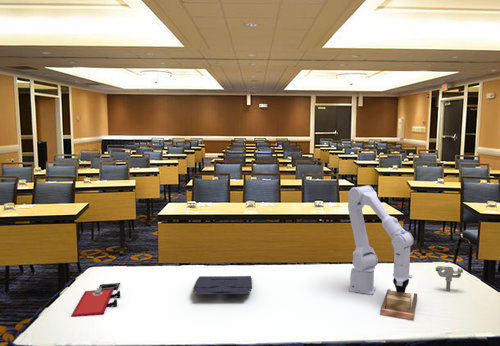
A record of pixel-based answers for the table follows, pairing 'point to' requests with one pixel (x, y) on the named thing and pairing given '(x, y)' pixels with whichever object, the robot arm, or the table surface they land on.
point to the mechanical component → (448, 274)
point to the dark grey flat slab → (223, 285)
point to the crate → (399, 301)
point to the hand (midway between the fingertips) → (400, 297)
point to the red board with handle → (96, 300)
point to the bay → (398, 313)
